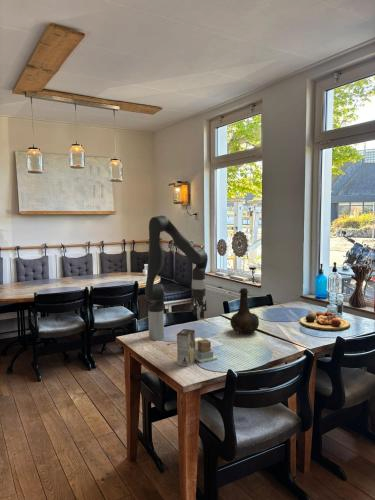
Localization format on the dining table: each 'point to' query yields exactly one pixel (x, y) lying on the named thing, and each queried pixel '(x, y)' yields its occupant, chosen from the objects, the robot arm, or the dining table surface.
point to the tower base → (204, 356)
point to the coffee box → (186, 347)
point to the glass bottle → (244, 316)
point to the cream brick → (197, 342)
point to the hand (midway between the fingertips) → (198, 316)
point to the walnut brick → (204, 345)
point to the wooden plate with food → (324, 321)
